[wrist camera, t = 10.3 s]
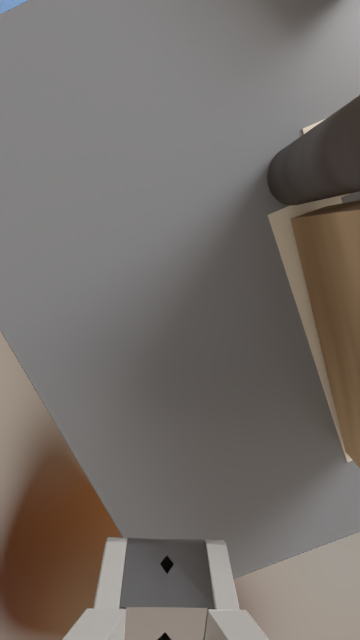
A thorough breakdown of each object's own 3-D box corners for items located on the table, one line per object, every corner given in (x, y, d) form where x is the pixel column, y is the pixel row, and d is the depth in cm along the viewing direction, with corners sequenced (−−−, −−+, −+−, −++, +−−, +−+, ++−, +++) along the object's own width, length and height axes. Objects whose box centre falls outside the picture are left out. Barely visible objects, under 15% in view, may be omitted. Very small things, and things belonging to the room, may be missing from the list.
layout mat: (627, 420, 14) (642, 427, 14) (162, 595, 15) (163, 607, 15) (604, -257, 9) (628, -284, 8) (-134, 89, 9) (-149, 81, 9)
